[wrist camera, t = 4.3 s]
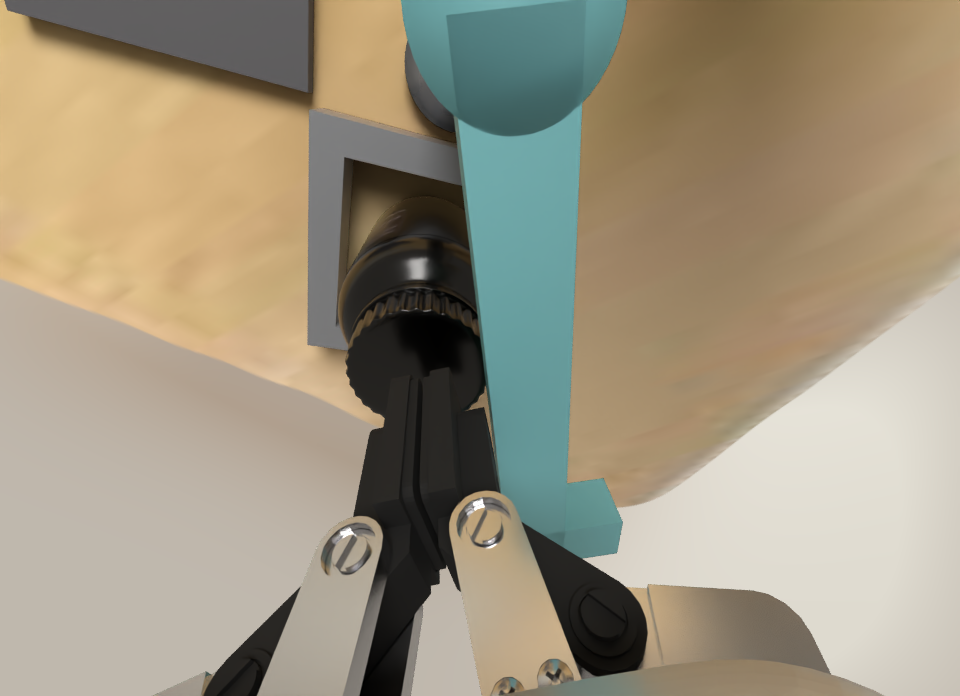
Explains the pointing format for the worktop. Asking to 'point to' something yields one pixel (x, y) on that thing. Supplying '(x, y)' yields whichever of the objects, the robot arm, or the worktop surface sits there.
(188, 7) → the rubber mat
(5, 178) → the worktop surface
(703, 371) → the worktop surface
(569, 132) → the latch bar
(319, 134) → the bottle holder
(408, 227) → the supplement bottle
